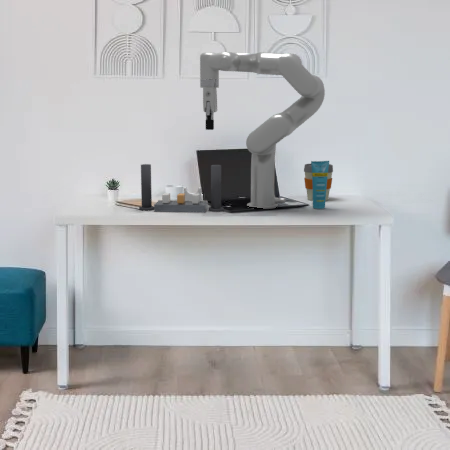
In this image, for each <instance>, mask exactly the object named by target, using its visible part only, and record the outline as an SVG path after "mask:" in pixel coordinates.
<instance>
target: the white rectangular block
mask: <svg viewBox="0 0 450 450" xmlns="http://www.w3.org/2000/svg"><path fill="white" fill-rule="evenodd" d="M161 197H162V199H161V200H162V203H169V202H170V200H171V193H170V192H164V193H163V194H162V195H161Z"/></svg>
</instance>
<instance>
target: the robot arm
mask: <svg viewBox="0 0 450 450" xmlns="http://www.w3.org/2000/svg"><path fill="white" fill-rule="evenodd" d="M199 71H200V72H199V74H200V75H199V83H200V84H199V87H200V88H202V106H203V107H202V108H203V112H204V113H205V131H213V130H214V129H215V122H214V121H215V120H214V113H216V112H218V93H217V92H218V90H217V88H220V80H219V79H220V78H219V77H220V76H219V75H220V72H221V71H222V72H240V73H241V72H242V73H253V74H257V75H270V76H271V75H273V76H274V75H275V76H282V77H283V78H284V79H285V80H286V82H288V84H289V85H290V86H291V87H292V88H293V89H294V90H295V91H296V93H298V94H299V95H301V97H300V98H299V99H297V100H296V101H294V102H293V103H292V104H291V105H290V106H289V107H287V108H285V109H284V110H283V111H282V112H277V113H275V114H273V115H272V116H270V117H269V118H268V119H266V120H265V121H264V122H263V123H261V124H260V125H259V126H257V127H256V128H255V129H254V130H253V131H251V132H250V133H249V134H248V136H247V137H246V141H245V143H246V144H245V145H246V146H245V147H246V148H247V150H248V152H249V153H251V160H250V161H251V163H250V202H248V203H247V204H246V206H249V207H257V208H263V209H262V210H269V209H270V210H272V209H275V208H276V207H277V206H279V204H280V203H281V204H286V198H283V197H277V196H276V194H275V173H276V172H275V167H276V165H275V164H276V150H277V144H278V143H279V142H281V141H282V140H283V139H284V138H286V137H288V136H290V135H291V134H292V133H294V131H295V130H297V129H298V128H299V127H300V126H301V125H302V124H304V123H305V122H306V121H308V120H309V119H311V118H312V116H314V115H315V114H316V113H317V112H318V110H319V109H320V108H321V107H322V105H323V102H324V99H325V95H326V93H325V92H326V90H325V86H324V85H325V84H324V83H323V80H322V79H321V78H320V77H319V76H318V75H314V74H312V73H311V72H310V71H309V70H308V69H307V68H306V67H305V66H304V65H303V63H302V59H301V57H300V56H299V55H297V54H295V53H289V52H287V53H286V52H285V53H284V52H266V51H265V52H264V51H263V52H262V51H261V52H256V53H254V52H253V53H244V52H230V51H221V52H202V53H201V54H200V57H199ZM249 207H248V208H249ZM277 208H278V207H277ZM277 208H276V209H277Z"/></svg>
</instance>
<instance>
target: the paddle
mask: <svg viewBox="0 0 450 450" xmlns="http://www.w3.org/2000/svg"><path fill="white" fill-rule="evenodd" d="M199 202H200V194H193V195H192V203H196V204H198V203H199Z"/></svg>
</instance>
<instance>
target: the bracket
mask: <svg viewBox="0 0 450 450" xmlns="http://www.w3.org/2000/svg"><path fill="white" fill-rule="evenodd" d="M183 193H185V200H191V201H192V195H193V194H200V201H204V200H203V194H202V193H203V192H202V186H201V187H200V186H199V187H198V190H197V191H196V192H190V191H189V190H188V187H187V186H184V187H183Z"/></svg>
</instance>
